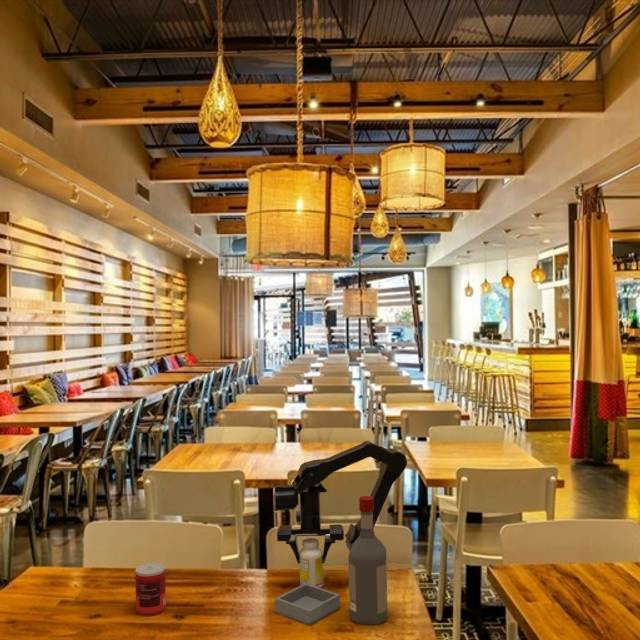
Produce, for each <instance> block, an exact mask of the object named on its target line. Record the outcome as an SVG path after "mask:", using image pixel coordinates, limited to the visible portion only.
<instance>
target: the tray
mask: <svg viewBox="0 0 640 640" xmlns="http://www.w3.org/2000/svg"><path fill="white" fill-rule="evenodd" d="M339 608H340V609H341V594H339V593H335V592H333V591H329V590H326V589H324V588H322V587H321V588H318V587H315V586H312V585H309V584H306V583H305V584H303V585H299V586H297V587H295V588H293V589H291V590H288V591H287V592H285V593H282V594H281V595H279V596H277V597H275V598H274V613H277V614H279V615H282V616H284V617H287V618H289V619H292V620H295V621H297V622H300V623H303V624H304V623H305V625H308V626H312V625H314V624H315V623H317V622H318V620H319V621H321V620H323V619H324V618H326V617H328V616H329V615H331V614H333V613H334V612H336V611H338V610H339ZM337 609H338V610H337ZM335 610H336V611H335ZM332 612H333V613H332ZM330 613H331V614H330ZM325 616H326V617H325ZM323 617H324V618H323ZM320 619H321V620H320ZM313 623H314V624H313Z"/></svg>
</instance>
